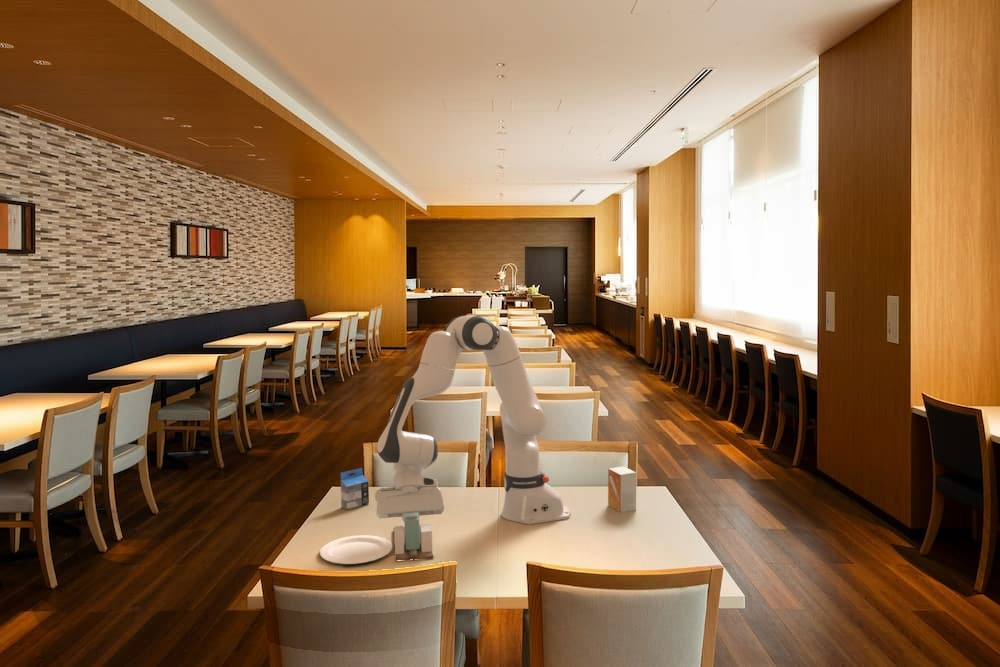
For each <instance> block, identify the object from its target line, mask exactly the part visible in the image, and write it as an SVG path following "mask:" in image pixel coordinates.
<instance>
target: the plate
mask: <svg viewBox="0 0 1000 667" xmlns="http://www.w3.org/2000/svg"><path fill="white" fill-rule="evenodd" d="M392 549H393V544H392V542H391V541H389V540H388V539H386V538H384V537H381V536H377V535H368V534H367V535H365V534H361V535H359V534H358V535H350V536H344V537H339V538H337V539H335V540H331V541H330V542H328V543H326V544H324V546H322V547H321V548H320V550H319V556H320V558H321V559H322V560H325V561H326V562H328V563H332V564H335V565H344V566H347V565H352V566H355V565H361V564H363V565H364V564H367V563H373V562H375V561H378V560H381V559H383V558H384V557H386V556H387V555H389V554H390V553H391V552H392Z"/></svg>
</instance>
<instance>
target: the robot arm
mask: <svg viewBox="0 0 1000 667" xmlns="http://www.w3.org/2000/svg"><path fill="white" fill-rule="evenodd" d="M463 351H477V352H480V351H482V352H483V354H484V356H485V360H486V363H487V366H488V369H489V372H490V376H491V378H492V382H493V385H494V387H495V390H496V391H497V393H498V395H499V398H500V400H501V403H500V406H499V413H500V419H501V427H502V436H503V441H504V447H505V448H504V449H505V451H504V452H505V472H504V477H503V478H504V480H503V482H504V484H503V486H504V490H505V494H504V501H503V507H502V511H501V517H502V518H504V519H506V520H508V521H512V522H518V523H521V524H524V525H534V524H541V523H547V522H554V521H559V520H566V519H569V518H570V516H571V513H570V509H569V507H567V506H566V505H565V504H564V503H563V499H562V496H561V494H560V493H559V492H558V491H557V490H556V489H555V488H553V487H552V486H550V485H549V484H548V483H549V481H550V477H549V476H548V475H546V474H545V473H544V472H542V471H540V446H539V444H538V439H537V436H538V435H540V434H541V433H542V432H543V431H544V429H545V427H546V424H547V418H546V414H545V413H544V410H543V409H542V406H541V404H540V401H539V398H538V396H537V393H536V391H535V390H534V388H533V385H532V383H531V380H530V378H529V377H528V376H529V375H528V374H527V371H526V367H525V364H524V361H523V357H522V355H521V351H520V349H519V347H518V343H517V341H516V340H515V337H514V335H513V334H512V332H511V330H510V329H509V328H508V327H506V326H505V325H504V326H503V325H494V323H493V322H492V321H491V320H489V319H488V318H487V317H485V316H481V315H475V314H467V315H458V316H456V317H453V318H452V319H451V320H450V321H449V322H448V323H447V325H446V326H445V328H443V330H438V331H434V332H431V333H430V335H429V336H428V338H427V340H426V342H425V345H424V348H423V350H422V354H421V357H420V361H419V365H418V368H417V370H416V372H415V373H414V374H413V376H411V377H410V378H407V379H406V380H405V382H403V384H402V386H401V388H400V391H399V393H398V395H397V398H396V400H395V402H394V405H393V408H392V410H391V412H390V415H389V417H388V420H387V422H386V425H385V426H384V428H383V430H382V432H381V435H380V436H379V438H378V442H377V444H376V453H377V454H378V456H379V457H380V459H381V460H382V461H383V462H384V463H389V464H393V468H394V471H395V472H394V477H393V479H394V480H393V483H394V486H393V487H392V486H390V487H389V486H388V487H380V488H379V489H377V490H376V491H375V493H374V500H375V501H376V516H377V518H379V519H387V518H389V519H390V518H401V519H402V522H404V513H416V512H418V516H419V517H420V516H431V515H432V516H433V515H441V514H443V512H444V510H445V503H444V498H443V494H442V491H441V489H440V488H439V483H438V480H437V479H435V478H432V477H427V476H425V475H424V476H423V470H424V469H427V468H429V467H430V466H431V465H432V464H434V463H435V462H436V460H437V459H438V454H439V448H438V447H439V446H438V443H437V440H436V439H435V437H434V436H432V435H429V434H424V433H418V432H417V433H416V432H411V431H406V430H405V431H404V430H403V427H404V425H405V421H406V420H407V416H408V414H409V411H410V409H411V407H412V405H413V404H414V403H416V402H417V401H419V400H422V399H424V398H430V397H435V396H438V395H441V394H443V393H445V392H446V391H447V390H448V389H449V388H450V387H451V385H452V383H453V379H454V376H455V372H456V371H455V370H456V366H457V361H458V359H459V357H460V356H461V353H462V352H463Z"/></svg>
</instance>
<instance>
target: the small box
mask: <svg viewBox="0 0 1000 667" xmlns="http://www.w3.org/2000/svg"><path fill="white" fill-rule="evenodd" d="M607 477H608V480H607V481H608V482H607V483H608V484H607V485H608V486H607V488H608V489H607V493H608V494H607V506H609V507H611V508H612V509H614V510H616V511H617V512H619V513H625V512H631V511H636V510H637V471H634V470H632V469H630V468H627V467H625V466H624V465H623V466H617V467H610V468H608V473H607Z"/></svg>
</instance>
